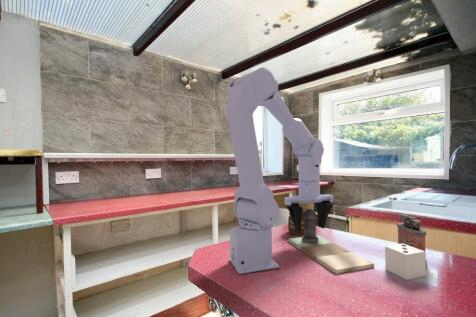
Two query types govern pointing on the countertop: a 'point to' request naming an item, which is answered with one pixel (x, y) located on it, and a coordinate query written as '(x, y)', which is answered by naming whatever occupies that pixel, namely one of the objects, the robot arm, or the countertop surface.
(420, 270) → the die
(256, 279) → the countertop surface
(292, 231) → the utensil holder
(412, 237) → the lighter
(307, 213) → the pawn
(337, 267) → the board
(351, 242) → the countertop surface
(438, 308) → the countertop surface
